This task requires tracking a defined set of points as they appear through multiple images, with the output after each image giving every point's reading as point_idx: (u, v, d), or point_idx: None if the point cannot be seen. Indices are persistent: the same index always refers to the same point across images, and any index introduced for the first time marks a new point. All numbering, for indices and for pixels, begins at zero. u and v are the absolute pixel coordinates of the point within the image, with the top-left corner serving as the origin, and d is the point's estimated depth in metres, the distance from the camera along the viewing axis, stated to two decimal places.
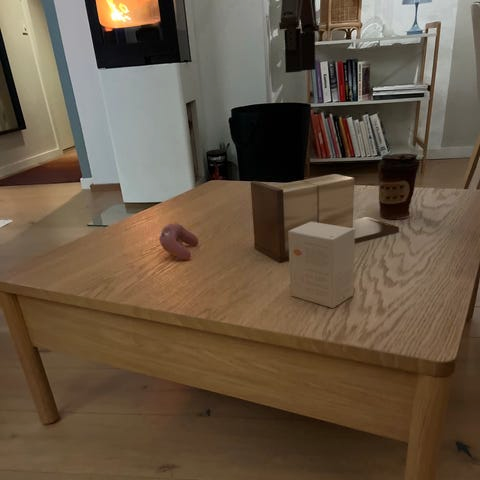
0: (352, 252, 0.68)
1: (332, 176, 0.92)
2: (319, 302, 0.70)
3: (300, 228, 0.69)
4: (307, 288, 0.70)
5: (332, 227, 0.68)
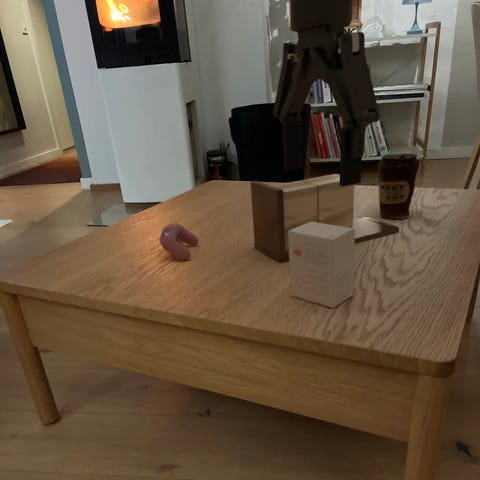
0: (352, 252, 0.68)
1: (332, 176, 0.92)
2: (319, 302, 0.70)
3: (300, 228, 0.69)
4: (307, 288, 0.70)
5: (332, 228, 0.68)
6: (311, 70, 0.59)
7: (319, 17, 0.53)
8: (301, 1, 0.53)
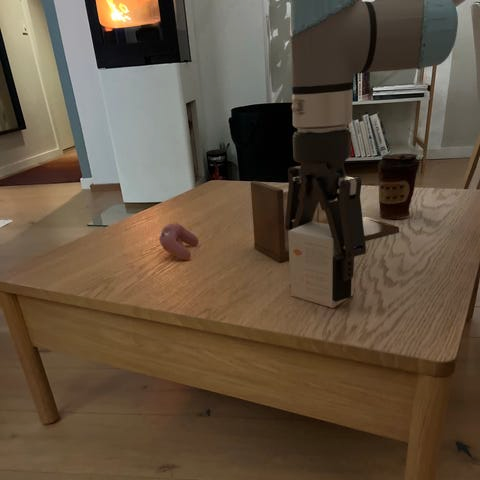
0: None
1: None
2: (319, 302, 0.70)
3: (300, 228, 0.69)
4: (307, 288, 0.70)
5: None
6: (314, 193, 0.65)
7: (321, 157, 0.60)
8: (305, 143, 0.60)
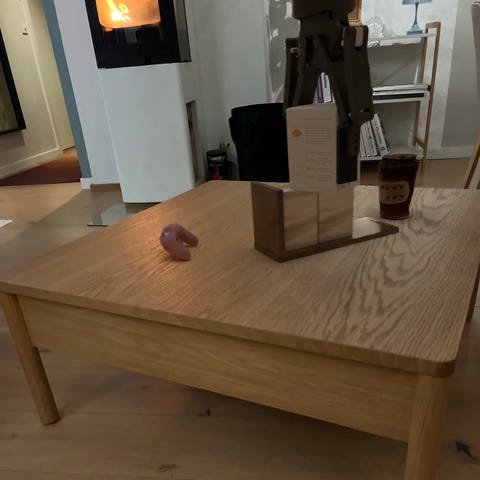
0: None
1: None
2: (321, 190, 0.62)
3: (299, 106, 0.62)
4: (308, 176, 0.63)
5: None
6: (314, 59, 0.58)
7: (322, 3, 0.52)
8: None
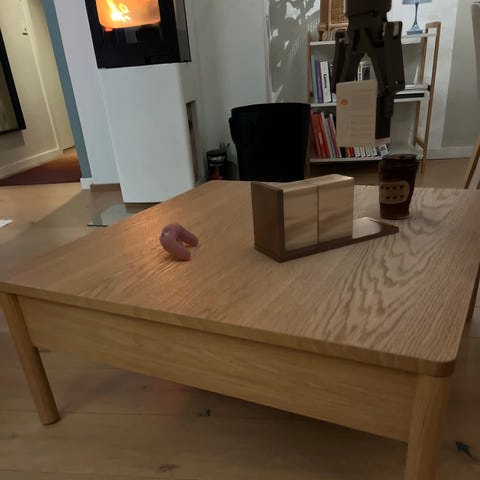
0: None
1: (332, 176, 0.92)
2: (362, 145, 0.83)
3: (346, 82, 0.82)
4: (352, 135, 0.84)
5: (373, 79, 0.81)
6: (359, 46, 0.79)
7: (369, 5, 0.73)
8: None
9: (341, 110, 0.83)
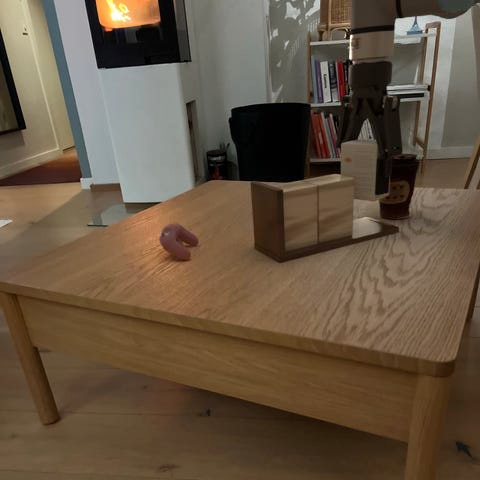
0: None
1: (332, 176, 0.92)
2: (364, 198, 0.92)
3: (350, 142, 0.92)
4: (354, 189, 0.93)
5: (374, 140, 0.90)
6: (362, 112, 0.88)
7: (371, 81, 0.82)
8: (359, 70, 0.82)
9: (345, 166, 0.93)
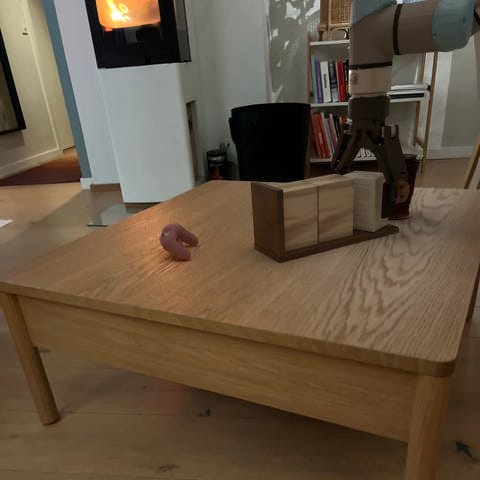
0: None
1: (332, 176, 0.92)
2: (363, 229, 0.95)
3: (349, 174, 0.94)
4: (354, 219, 0.96)
5: (373, 173, 0.93)
6: (361, 143, 0.90)
7: (369, 114, 0.85)
8: (358, 104, 0.85)
9: None
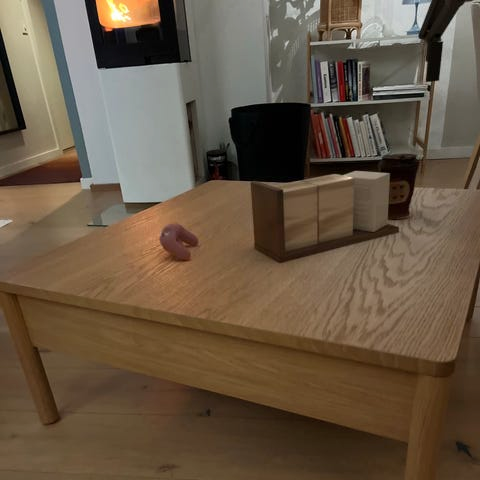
0: (387, 191, 0.93)
1: (332, 176, 0.92)
2: (363, 229, 0.95)
3: (349, 174, 0.94)
4: (354, 219, 0.96)
5: (373, 173, 0.93)
6: None
7: None
8: None
9: None
